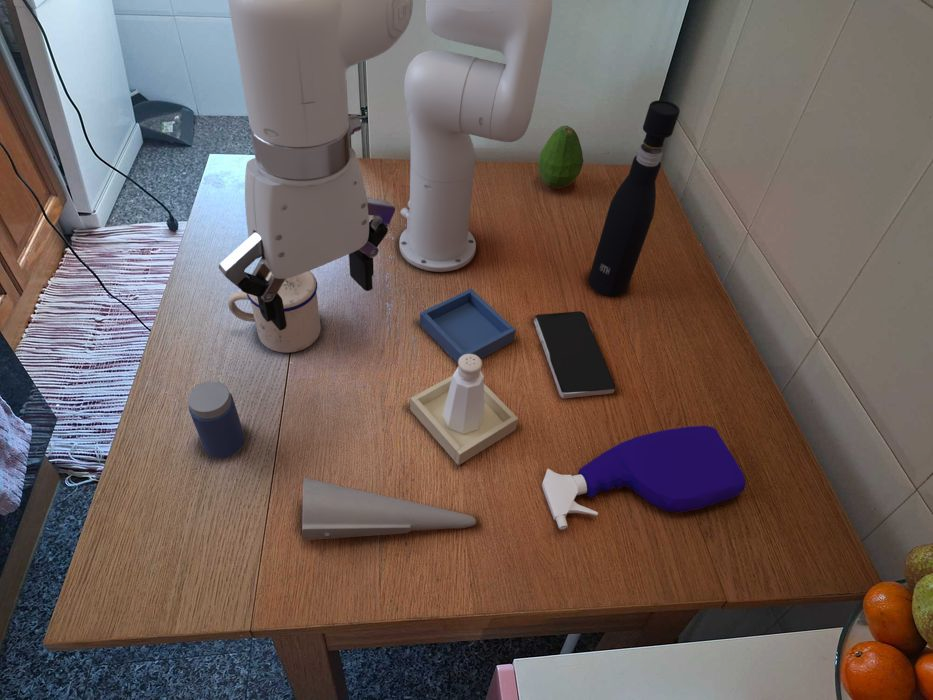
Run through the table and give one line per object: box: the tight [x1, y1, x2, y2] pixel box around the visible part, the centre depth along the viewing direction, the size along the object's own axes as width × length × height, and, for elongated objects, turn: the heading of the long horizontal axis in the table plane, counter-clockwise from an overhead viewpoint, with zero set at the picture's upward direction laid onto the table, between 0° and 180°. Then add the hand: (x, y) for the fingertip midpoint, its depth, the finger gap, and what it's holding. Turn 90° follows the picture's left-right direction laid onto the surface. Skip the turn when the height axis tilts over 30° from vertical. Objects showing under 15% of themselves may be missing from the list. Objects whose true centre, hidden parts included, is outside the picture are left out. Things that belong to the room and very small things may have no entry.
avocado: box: [538, 125, 584, 189], centre depth 118 cm, size 8×8×12 cm
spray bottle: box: [541, 425, 747, 530], centre depth 78 cm, size 3×11×24 cm
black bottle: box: [587, 99, 681, 297], centre depth 93 cm, size 6×6×30 cm
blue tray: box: [419, 288, 517, 364], centre depth 93 cm, size 10×9×2 cm
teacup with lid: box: [227, 270, 322, 354], centre depth 87 cm, size 12×9×12 cm
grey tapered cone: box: [301, 477, 477, 541], centre depth 73 cm, size 6×6×19 cm
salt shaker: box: [442, 354, 485, 434], centre depth 79 cm, size 5×5×11 cm
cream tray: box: [409, 374, 519, 466], centre depth 83 cm, size 10×9×2 cm
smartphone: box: [533, 310, 616, 399], centre depth 93 cm, size 8×1×15 cm
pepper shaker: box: [187, 380, 246, 459], centre depth 75 cm, size 5×5×9 cm
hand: (320, 301), depth 64 cm, fingers open, 9 cm apart
